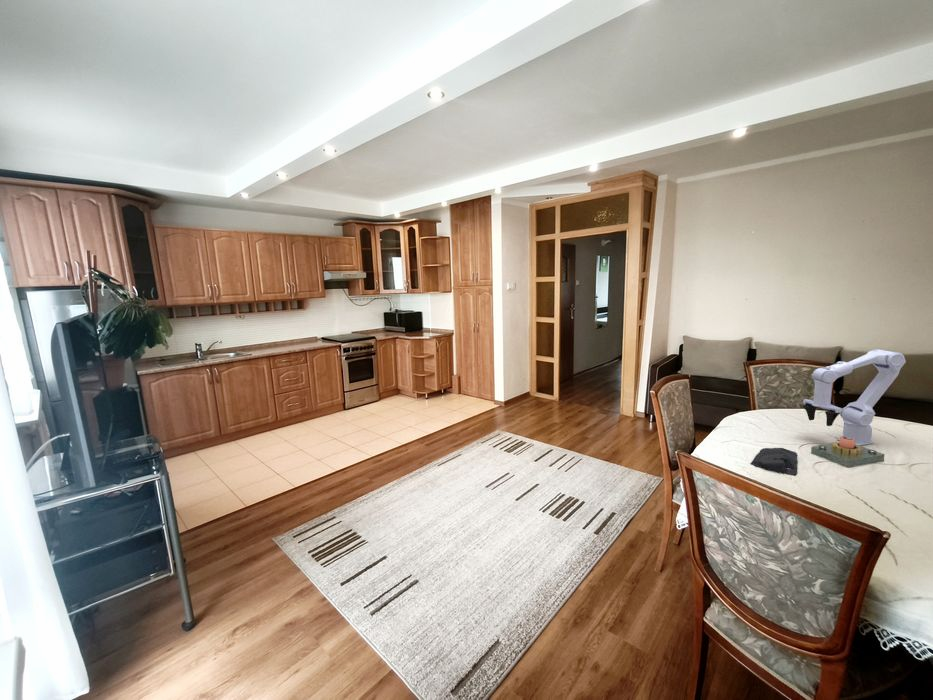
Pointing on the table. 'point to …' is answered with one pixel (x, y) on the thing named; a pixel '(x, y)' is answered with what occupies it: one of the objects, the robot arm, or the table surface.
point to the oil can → (847, 442)
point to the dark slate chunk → (777, 460)
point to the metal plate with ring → (847, 454)
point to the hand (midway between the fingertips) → (820, 422)
